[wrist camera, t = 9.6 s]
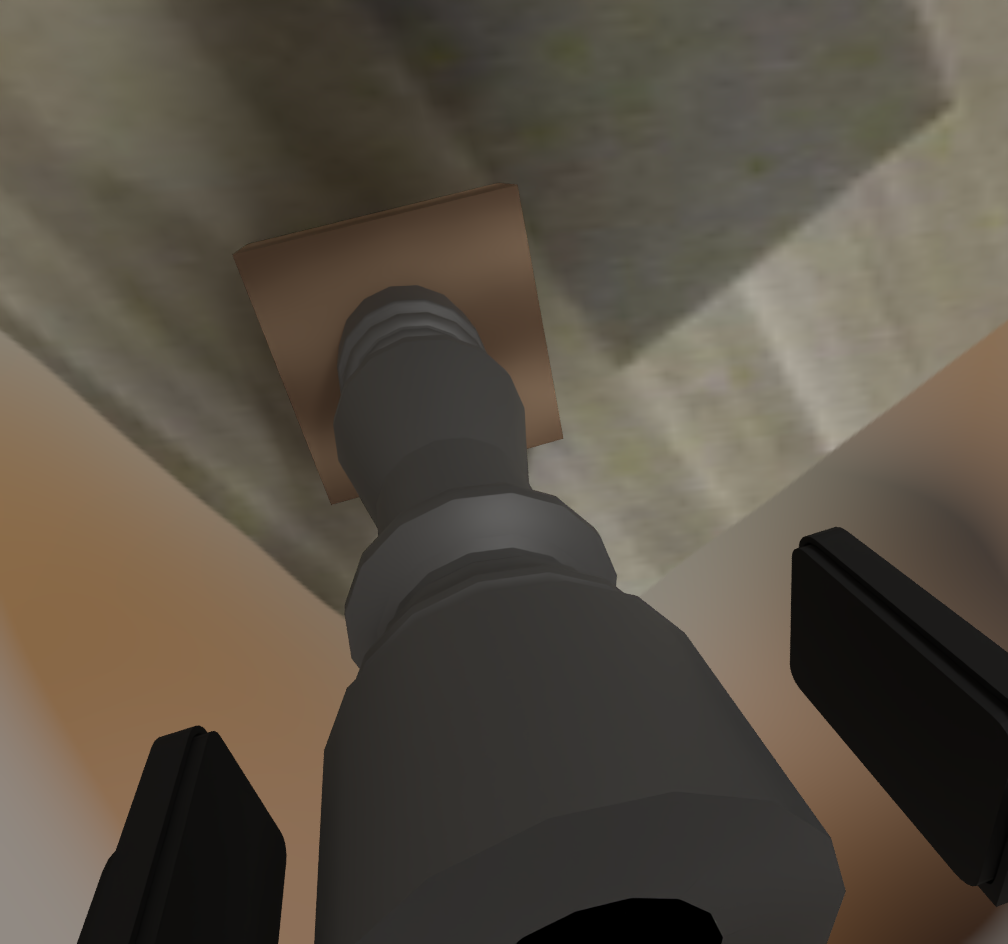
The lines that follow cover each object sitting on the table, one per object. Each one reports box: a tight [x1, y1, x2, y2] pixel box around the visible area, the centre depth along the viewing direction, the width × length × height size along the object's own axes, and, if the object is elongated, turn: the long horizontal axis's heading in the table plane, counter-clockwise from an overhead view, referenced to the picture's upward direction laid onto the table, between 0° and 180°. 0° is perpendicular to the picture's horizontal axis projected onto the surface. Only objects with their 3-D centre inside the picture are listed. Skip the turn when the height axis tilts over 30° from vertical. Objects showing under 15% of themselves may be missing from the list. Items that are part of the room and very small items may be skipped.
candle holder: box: [314, 285, 845, 944], centre depth 18 cm, size 6×6×25 cm
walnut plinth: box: [233, 183, 563, 505], centre depth 30 cm, size 12×12×4 cm
